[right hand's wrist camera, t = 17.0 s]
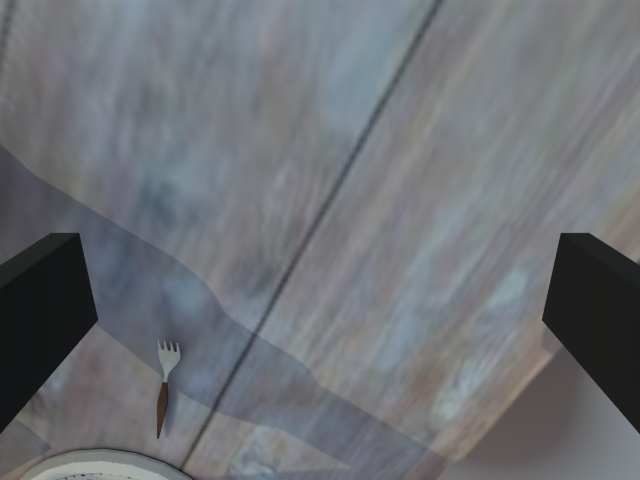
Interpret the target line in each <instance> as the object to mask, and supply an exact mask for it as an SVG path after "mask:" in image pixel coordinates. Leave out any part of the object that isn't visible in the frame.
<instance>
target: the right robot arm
mask: <svg viewBox="0 0 640 480" xmlns="http://www.w3.org/2000/svg"><path fill="white" fill-rule="evenodd" d="M97 321H98V317H97V313H96V308H95V303H94V299H93V294H92V290H91V285H90V281H89V276H88V271H87V267H86V262H85V258H84V253H83V249H82V244H81V239H80V235H79V233H50V234H49V235H47V236H45V237H44V238H42V239H41V240H39V241H38V242H36V243H34V244H33V245H31V246H30V247H28V248H27V249H25V250H24V251H22V252H20V253H19V254H17V255H16V256H14V257H13V258H11V259H9V260H8V261H6V262H5V263H3V264H2V265H0V434H1V433H2V431H3V430H4V429H5V428H6V427H7V426H8V424H9V423H10V422H11V421H12V420H13V419H14V417H15V416H16V415H17V414H18V413H19V412H20V410H21V409H22V408H23V407H24V406H25V405H26V403H27V402H28V401H29V400H30V399H31V398H32V396H33V395H34V394H35V393H36V392H37V391H38V389H39V388H40V387H41V386H42V385H43V384H44V382H45V381H46V380H47V379H48V378H49V377H50V375H51V374H52V373H53V372H54V371H55V370H56V368H57V367H58V366H59V365H60V364H61V363H62V361H63V360H64V359H65V358H66V357H67V356H68V354H69V353H70V352H71V351H72V350H73V349H74V347H75V346H76V345H77V344H78V343H79V342H80V341H81V339H82V338H83V337H84V336H85V335H86V334H87V332H88V331H89V330H90V329H91V328H92V327H93V325H94V324H95V323H96V322H97ZM542 321H543V322H544V323H545V324H546V325H547V327H548V328H549V329H550V330H551V331H552V332H553V334H554V335H555V336H556V337H557V338H558V339H559V341H560V342H561V343H562V344H563V345H564V346H565V347H566V349H567V350H568V351H569V352H570V353H571V354H572V356H573V357H574V358H575V359H576V360H577V361H578V363H579V364H580V365H581V366H582V367H583V368H584V370H585V371H586V372H587V373H588V374H589V375H590V377H591V378H592V379H593V380H594V381H595V382H596V384H597V385H598V386H599V387H600V388H601V389H602V391H603V392H604V393H605V394H606V395H607V396H608V398H609V399H610V400H611V401H612V402H613V403H614V405H615V406H616V407H617V408H618V409H619V410H620V412H621V413H622V414H623V415H624V416H625V417H626V419H627V420H628V421H629V422H630V423H631V424H632V426H633V427H634V428H635V429H636V430H637V431H638V432H639V434H640V265H638V264H637V263H635V262H634V261H632V260H631V259H629V258H627V257H626V256H624V255H623V254H621V253H620V252H618V251H616V250H615V249H613V248H612V247H610V246H609V245H607V244H606V243H604V242H602V241H601V240H599V239H598V238H596V237H595V236H593V235H591V234H590V233H561V235H560V239H559V244H558V249H557V253H556V258H555V262H554V267H553V271H552V276H551V281H550V285H549V290H548V294H547V299H546V303H545V308H544V313H543V317H542Z"/></svg>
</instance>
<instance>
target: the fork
mask: <svg viewBox="0 0 640 480" xmlns="http://www.w3.org/2000/svg"><path fill="white" fill-rule="evenodd" d="M157 341H158V356H159V360H160V362H161V365H162V368H163V370H164V380H163V384H162V387H161V391H160V395H159V398H158V404H157V439H159V436H160V432H161V428H162V424H163V420H164V416H165V413H166V409H167V403H168V374H169V373H170V371H171V370H172V369H173V368H174V367H175V366H176V365H177V364H178V362H179V361H180V358H181V354H180V349H179V346H178V343H177V352H175V351H174V349H173V345H172V343H171V342H170V346H171V351H169V350H168V348H167V345H166V342H165V340H164V350H163V349H162V348H161V345H160V342H159V340H158V339H157Z"/></svg>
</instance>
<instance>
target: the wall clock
mask: <svg viewBox="0 0 640 480" xmlns="http://www.w3.org/2000/svg"><path fill="white" fill-rule="evenodd" d="M20 480H192V479H191V478H190V477H188V476H187V475H185V474H183V473H181V472H180V471H178V470H176V469H174V468H173V467H171V466H169V465H167V464H166V463H163V462H160V461H157V460H155V459H152V458H149V457H146V456H143V455H140V454H137V453H131V452H124V451H116V450H109V449H94V450H76V451H72V452H68V453H64V454H61V455H57V456H54V457H50V458H48V459H46V460H44V461H43V462H41V463H39V464H38V465H36V466H34V467H32V468H31V469H29V470H28V471H27V472H26V473H25V474H24V475H23V477H22V478H21V479H20Z"/></svg>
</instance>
